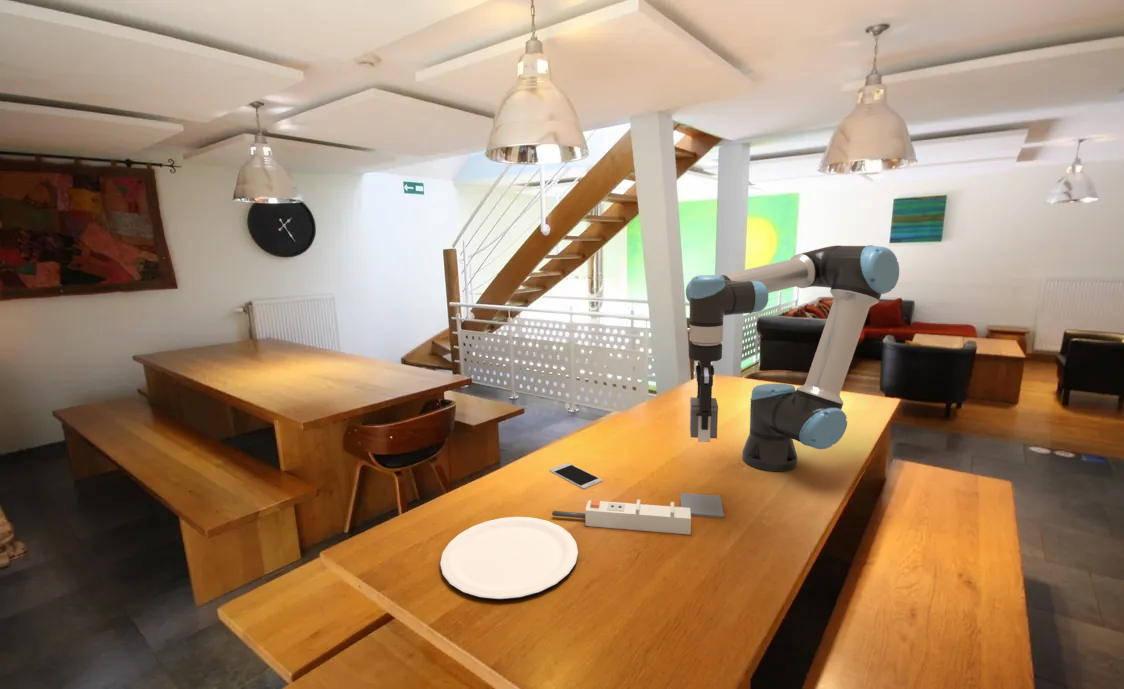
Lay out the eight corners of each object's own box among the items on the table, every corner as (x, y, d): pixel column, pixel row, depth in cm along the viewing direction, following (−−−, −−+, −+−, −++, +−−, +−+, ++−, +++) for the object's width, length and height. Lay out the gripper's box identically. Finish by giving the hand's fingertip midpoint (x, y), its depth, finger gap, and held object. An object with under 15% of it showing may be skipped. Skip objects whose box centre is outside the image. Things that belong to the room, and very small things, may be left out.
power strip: (689, 523, 124) (690, 503, 123) (690, 534, 119) (691, 513, 118) (554, 512, 130) (553, 493, 129) (550, 522, 126) (549, 502, 125)
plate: (525, 626, 93) (525, 617, 93) (410, 574, 108) (409, 567, 108) (602, 543, 117) (602, 536, 117) (499, 511, 133) (499, 504, 132)
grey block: (715, 429, 130) (716, 398, 128) (717, 438, 124) (718, 406, 122) (689, 428, 131) (690, 397, 129) (690, 437, 125) (691, 405, 123)
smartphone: (567, 465, 158) (567, 462, 158) (603, 482, 146) (603, 479, 146) (548, 472, 154) (548, 469, 153) (583, 491, 142) (583, 487, 142)
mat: (720, 497, 135) (720, 495, 135) (723, 518, 126) (724, 515, 125) (680, 495, 137) (680, 492, 137) (680, 514, 128) (680, 512, 127)
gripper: (687, 334, 133) (686, 421, 137) (690, 351, 114) (688, 450, 119) (718, 334, 131) (716, 422, 136) (726, 351, 113) (722, 452, 118)
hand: (703, 435), depth 128 cm, fingers closed on grey block, 6 cm apart
